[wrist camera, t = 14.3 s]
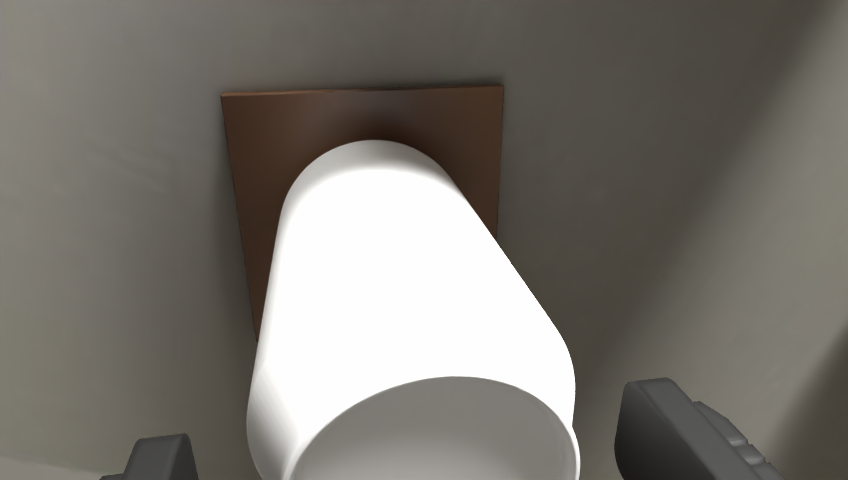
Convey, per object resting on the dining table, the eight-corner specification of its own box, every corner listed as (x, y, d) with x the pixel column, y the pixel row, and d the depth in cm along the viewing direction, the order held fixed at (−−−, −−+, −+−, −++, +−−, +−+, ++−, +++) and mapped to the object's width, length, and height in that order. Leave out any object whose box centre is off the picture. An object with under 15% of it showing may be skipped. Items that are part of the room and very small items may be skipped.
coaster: (257, 335, 22) (256, 342, 21) (222, 92, 18) (219, 95, 18) (489, 313, 23) (492, 320, 22) (500, 83, 19) (504, 85, 19)
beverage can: (494, 207, 21) (689, 453, 10) (381, 327, 22) (444, 664, 11) (360, 92, 18) (422, 249, 7) (242, 234, 19) (147, 548, 9)
